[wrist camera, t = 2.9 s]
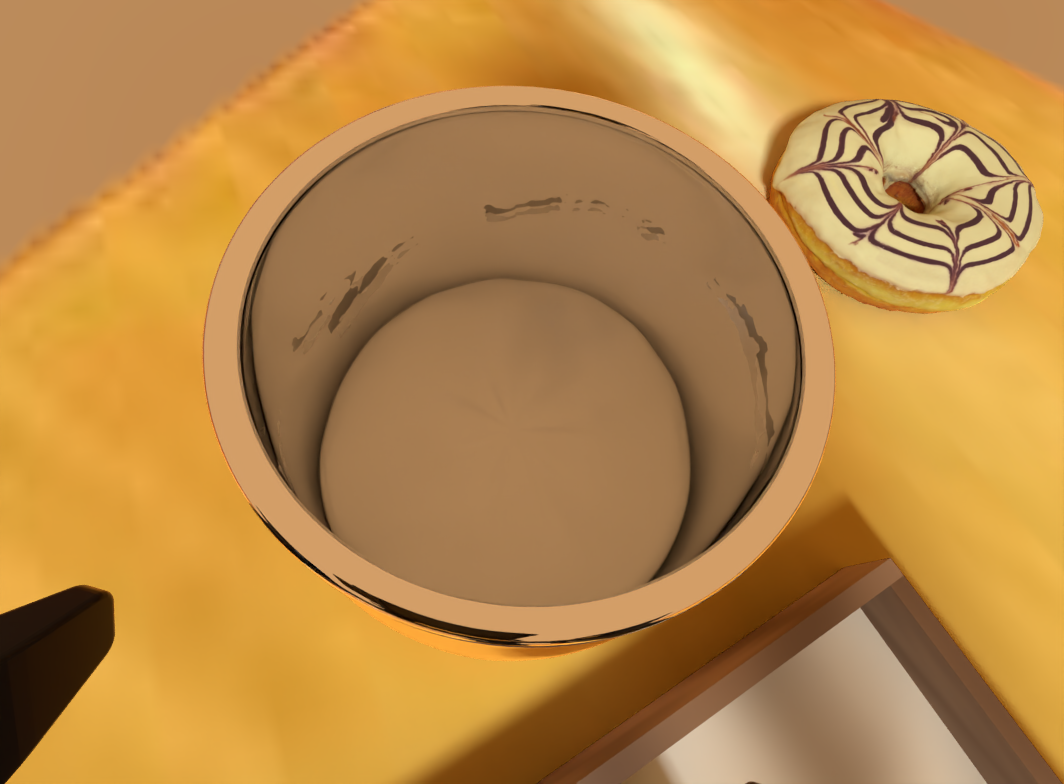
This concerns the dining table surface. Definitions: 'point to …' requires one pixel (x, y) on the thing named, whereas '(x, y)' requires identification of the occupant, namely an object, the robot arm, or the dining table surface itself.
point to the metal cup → (518, 369)
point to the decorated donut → (905, 205)
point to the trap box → (825, 704)
